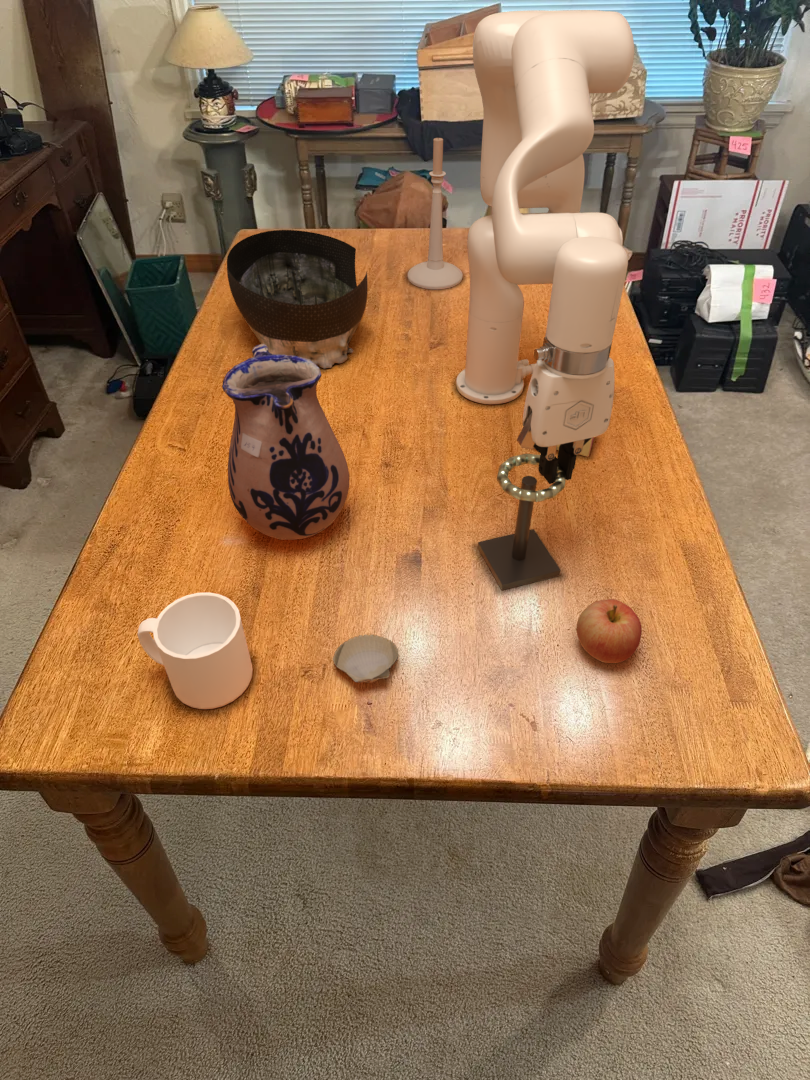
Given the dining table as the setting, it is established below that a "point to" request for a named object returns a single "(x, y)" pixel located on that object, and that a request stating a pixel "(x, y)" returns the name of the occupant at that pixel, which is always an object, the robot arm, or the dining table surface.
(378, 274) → the dining table surface
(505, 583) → the stand
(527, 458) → the beaded ring
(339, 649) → the seashell
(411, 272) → the candlestick
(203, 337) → the dining table surface
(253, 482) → the ceramic pitcher
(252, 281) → the basket
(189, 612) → the mug
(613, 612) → the apple
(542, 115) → the robot arm
